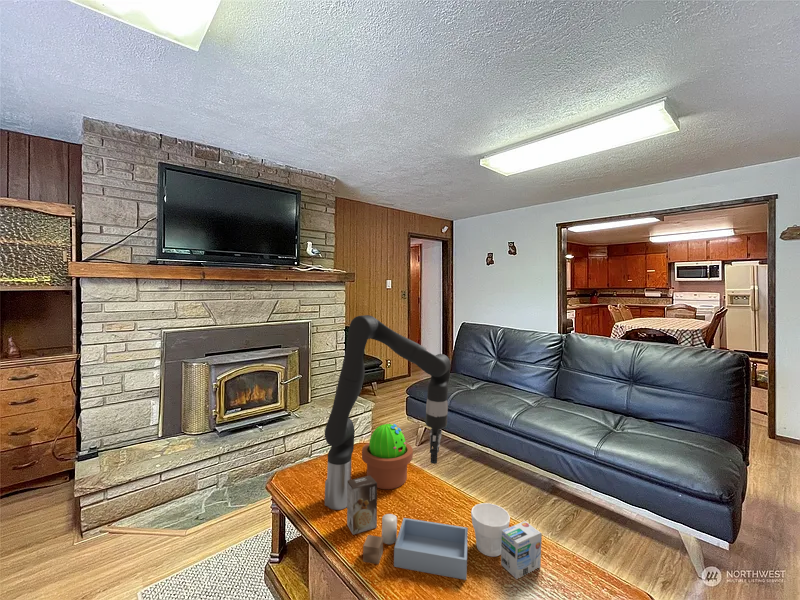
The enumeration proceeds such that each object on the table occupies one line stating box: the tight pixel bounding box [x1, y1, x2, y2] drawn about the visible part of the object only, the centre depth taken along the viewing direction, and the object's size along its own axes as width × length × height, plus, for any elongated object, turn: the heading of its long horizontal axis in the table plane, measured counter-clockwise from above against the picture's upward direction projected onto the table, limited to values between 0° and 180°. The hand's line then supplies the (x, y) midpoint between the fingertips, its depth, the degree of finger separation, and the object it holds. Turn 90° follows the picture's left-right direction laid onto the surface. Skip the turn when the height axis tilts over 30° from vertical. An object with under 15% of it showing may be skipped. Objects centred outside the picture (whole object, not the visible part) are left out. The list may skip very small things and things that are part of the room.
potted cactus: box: [361, 422, 414, 490], centre depth 156 cm, size 22×22×25 cm
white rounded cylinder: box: [381, 513, 398, 545], centre depth 118 cm, size 5×5×7 cm
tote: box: [393, 517, 469, 581], centre depth 111 cm, size 22×15×6 cm
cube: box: [362, 534, 384, 565], centre depth 110 cm, size 5×5×5 cm
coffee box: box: [346, 475, 378, 535], centre depth 124 cm, size 9×6×16 cm
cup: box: [470, 502, 511, 557], centre depth 115 cm, size 12×12×11 cm
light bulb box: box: [500, 520, 543, 580], centre depth 107 cm, size 11×7×11 cm, turn 119°
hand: (434, 457), depth 123 cm, fingers open, 8 cm apart
